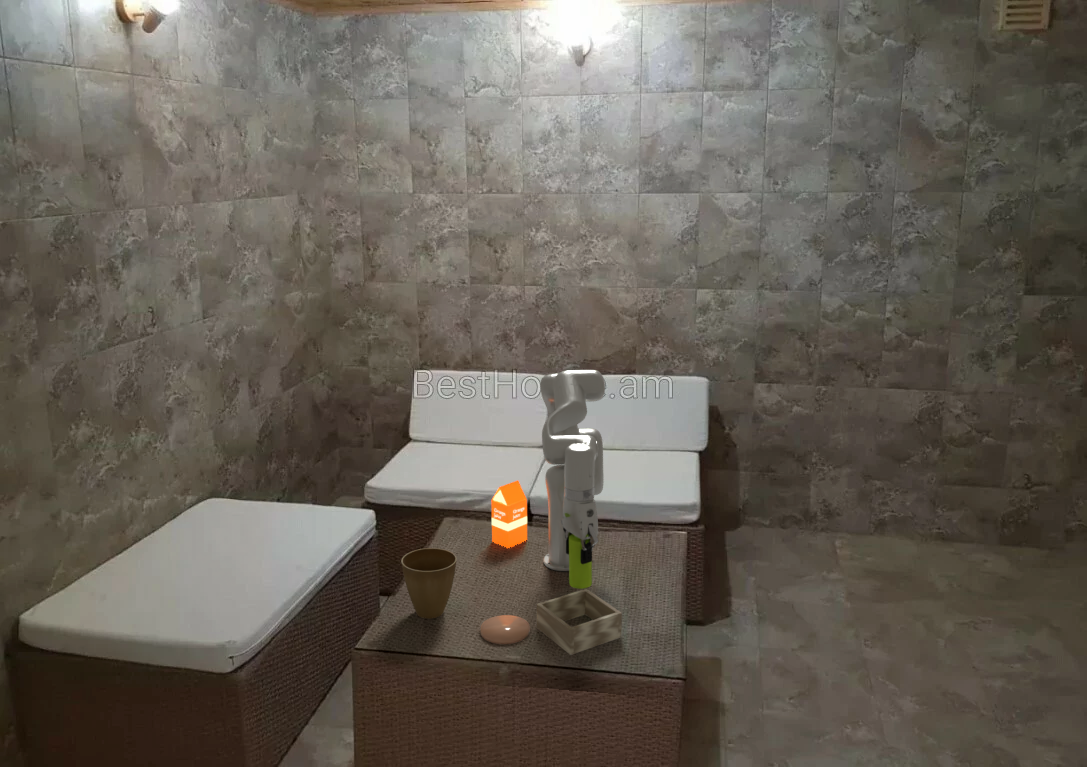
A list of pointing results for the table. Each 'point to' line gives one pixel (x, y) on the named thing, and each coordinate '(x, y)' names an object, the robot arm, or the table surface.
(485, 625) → the peach oval pebble
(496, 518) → the orange juice
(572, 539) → the soap dispenser
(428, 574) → the plant pot
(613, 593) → the table surface
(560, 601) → the open wooden box
